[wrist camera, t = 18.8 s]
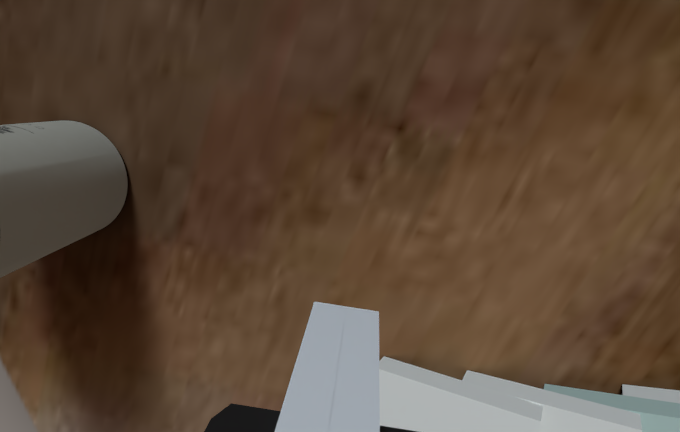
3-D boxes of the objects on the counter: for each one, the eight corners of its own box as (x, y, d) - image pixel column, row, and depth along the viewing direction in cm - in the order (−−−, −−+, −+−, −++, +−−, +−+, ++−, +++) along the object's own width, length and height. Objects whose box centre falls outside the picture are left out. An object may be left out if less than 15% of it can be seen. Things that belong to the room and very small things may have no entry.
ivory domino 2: (467, 370, 39) (640, 413, 34) (460, 431, 40) (627, 482, 35) (460, 382, 37) (642, 430, 32) (454, 446, 38) (628, 501, 33)
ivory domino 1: (383, 356, 39) (543, 405, 35) (375, 417, 40) (528, 472, 36) (374, 367, 37) (540, 421, 33) (365, 431, 38) (525, 491, 34)
